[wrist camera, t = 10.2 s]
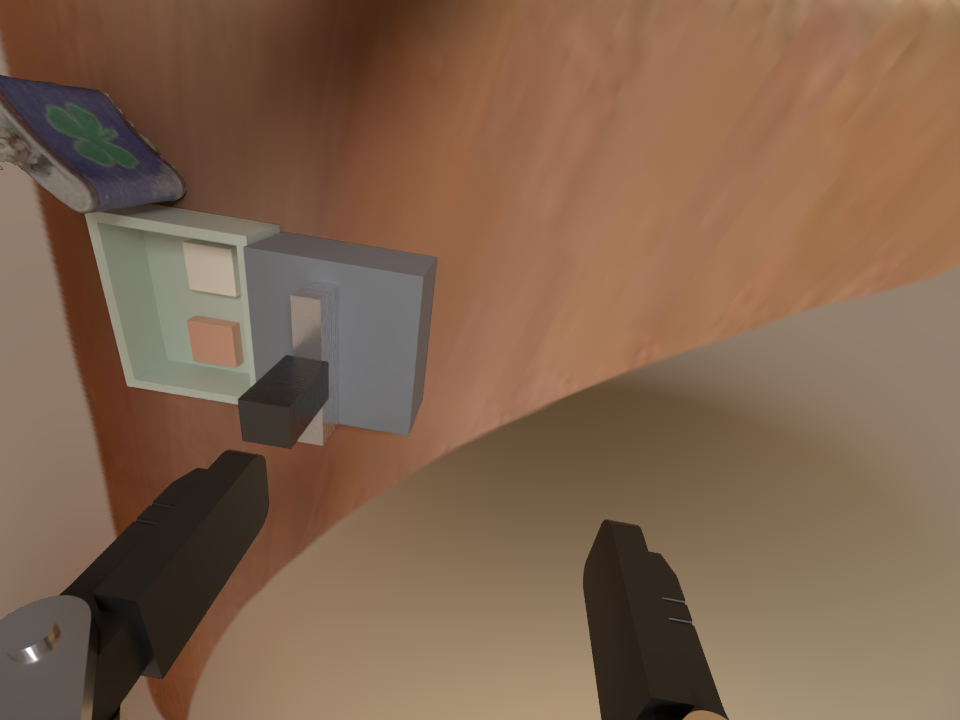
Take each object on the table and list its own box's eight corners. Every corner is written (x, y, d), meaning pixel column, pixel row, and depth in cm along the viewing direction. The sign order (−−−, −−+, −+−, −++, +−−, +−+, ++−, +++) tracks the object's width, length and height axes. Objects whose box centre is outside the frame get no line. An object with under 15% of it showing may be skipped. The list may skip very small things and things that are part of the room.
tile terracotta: (231, 327, 38) (239, 322, 39) (186, 320, 38) (195, 315, 40) (236, 367, 40) (243, 361, 41) (193, 360, 40) (202, 354, 41)
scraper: (305, 279, 32) (228, 328, 23) (346, 285, 32) (284, 337, 23) (310, 415, 37) (249, 495, 29) (345, 421, 37) (294, 503, 29)
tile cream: (231, 249, 35) (239, 246, 36) (182, 241, 35) (191, 239, 36) (236, 296, 37) (244, 292, 38) (189, 289, 37) (199, 285, 38)
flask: (194, 187, 36) (74, 203, 26) (173, 209, 37) (49, 232, 27) (96, 79, 33) (-80, 51, 23) (76, 105, 34) (-102, 90, 24)
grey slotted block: (283, 231, 37) (243, 246, 31) (437, 257, 37) (423, 277, 31) (291, 377, 43) (258, 410, 37) (422, 399, 43) (408, 435, 37)
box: (136, 201, 36) (83, 209, 32) (279, 225, 36) (246, 236, 32) (167, 360, 43) (127, 385, 39) (288, 381, 43) (261, 408, 39)
